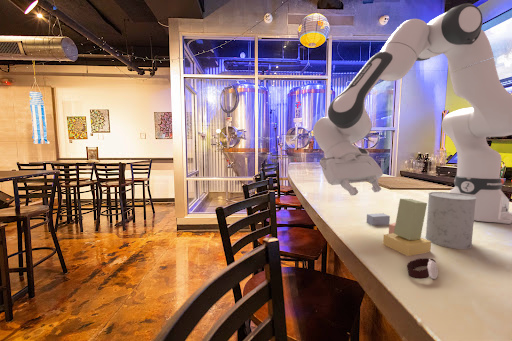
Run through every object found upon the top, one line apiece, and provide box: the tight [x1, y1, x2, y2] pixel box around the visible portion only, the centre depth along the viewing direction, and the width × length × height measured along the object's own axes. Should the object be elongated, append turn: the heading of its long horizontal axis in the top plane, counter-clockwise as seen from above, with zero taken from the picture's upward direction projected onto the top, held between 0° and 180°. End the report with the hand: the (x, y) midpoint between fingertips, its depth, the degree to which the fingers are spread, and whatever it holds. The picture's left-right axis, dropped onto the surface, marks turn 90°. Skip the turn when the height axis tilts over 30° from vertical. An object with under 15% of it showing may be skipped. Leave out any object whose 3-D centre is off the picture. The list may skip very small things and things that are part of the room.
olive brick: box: [394, 198, 428, 240], centre depth 58 cm, size 4×4×9 cm
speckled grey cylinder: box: [425, 191, 476, 250], centre depth 62 cm, size 10×10×12 cm
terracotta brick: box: [388, 221, 396, 234], centre depth 68 cm, size 6×3×3 cm, turn 122°
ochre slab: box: [382, 233, 432, 257], centre depth 58 cm, size 7×7×3 cm
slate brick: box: [366, 212, 391, 226], centre depth 77 cm, size 6×3×3 cm, turn 99°
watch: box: [406, 257, 439, 280], centre depth 46 cm, size 8×5×4 cm, turn 127°
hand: (367, 192), depth 68 cm, fingers open, 8 cm apart
